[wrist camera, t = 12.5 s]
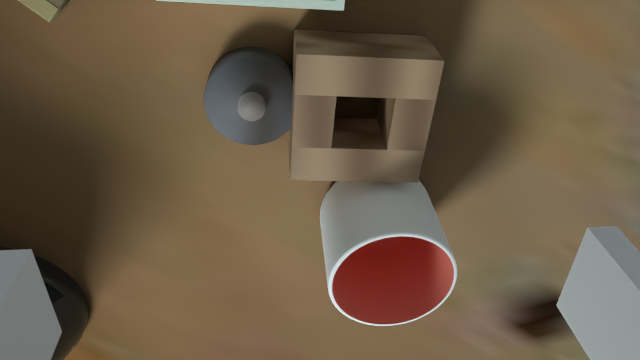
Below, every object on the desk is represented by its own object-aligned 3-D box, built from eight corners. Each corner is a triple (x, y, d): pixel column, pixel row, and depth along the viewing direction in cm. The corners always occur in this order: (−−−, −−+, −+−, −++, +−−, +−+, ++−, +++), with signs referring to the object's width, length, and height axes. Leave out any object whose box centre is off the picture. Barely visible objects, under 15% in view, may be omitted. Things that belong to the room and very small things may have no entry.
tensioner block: (210, 144, 43) (203, 178, 39) (204, 24, 38) (195, 49, 33) (404, 149, 45) (418, 182, 41) (426, 35, 39) (444, 60, 35)
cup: (331, 254, 51) (342, 337, 43) (307, 173, 46) (314, 250, 37) (431, 232, 51) (462, 312, 42) (420, 147, 45) (452, 220, 37)
